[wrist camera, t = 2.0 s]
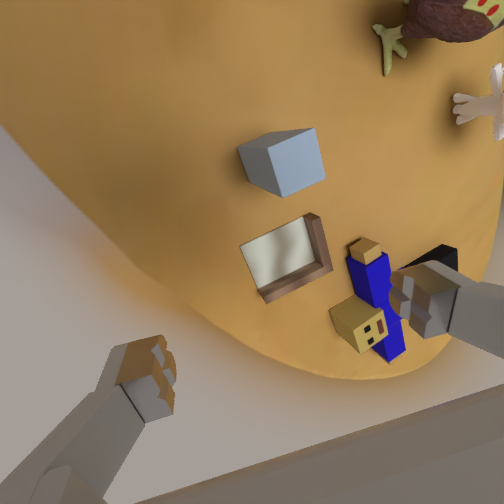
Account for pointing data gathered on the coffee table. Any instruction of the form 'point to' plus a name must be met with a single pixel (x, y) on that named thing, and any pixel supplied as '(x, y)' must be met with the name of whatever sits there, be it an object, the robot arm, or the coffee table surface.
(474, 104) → the figurine
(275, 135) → the block
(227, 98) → the coffee table surface
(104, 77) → the coffee table surface
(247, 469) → the robot arm
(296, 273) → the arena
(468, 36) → the figurine
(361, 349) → the toy
